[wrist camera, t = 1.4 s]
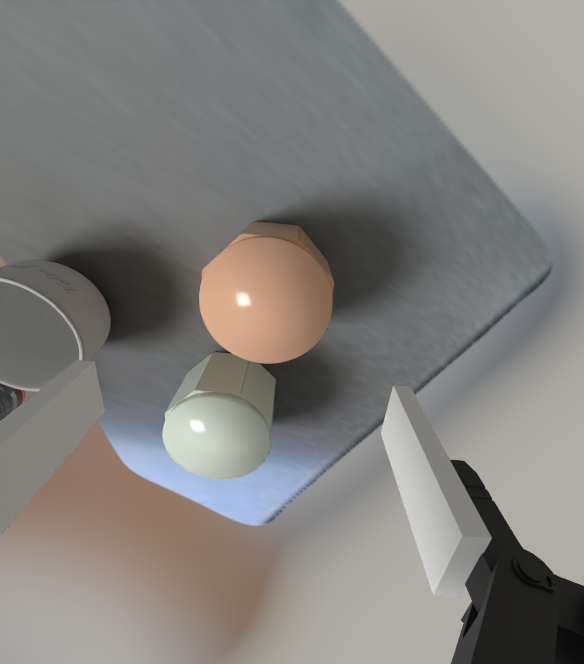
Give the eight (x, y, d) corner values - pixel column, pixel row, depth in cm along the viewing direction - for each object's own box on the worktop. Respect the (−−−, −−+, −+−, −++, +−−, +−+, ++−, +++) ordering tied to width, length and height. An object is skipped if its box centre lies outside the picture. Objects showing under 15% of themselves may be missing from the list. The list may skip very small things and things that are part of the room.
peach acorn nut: (221, 218, 29) (195, 231, 22) (331, 228, 29) (341, 244, 22) (222, 319, 33) (201, 358, 26) (318, 327, 34) (323, 368, 26)
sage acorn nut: (186, 349, 35) (157, 394, 28) (277, 357, 35) (272, 403, 28) (191, 420, 39) (167, 475, 32) (272, 427, 40) (266, 482, 32)
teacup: (112, 253, 31) (55, 276, 23) (135, 352, 35) (94, 397, 28) (-32, 251, 31) (-132, 274, 24) (10, 350, 36) (-63, 394, 28)
